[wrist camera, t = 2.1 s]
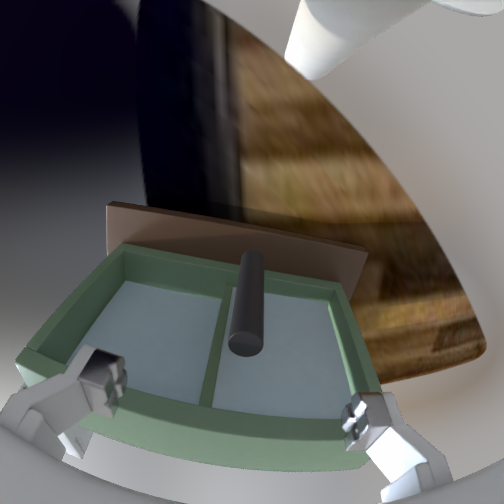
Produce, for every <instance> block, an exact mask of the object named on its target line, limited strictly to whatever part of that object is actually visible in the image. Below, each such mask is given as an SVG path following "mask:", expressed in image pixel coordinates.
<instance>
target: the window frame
mask: <svg viewBox="0 0 504 504" xmlns="http://www.w3.org/2000/svg"><path fill="white" fill-rule="evenodd" d="M106 227H107V228H106V229H107V257H106V258H105V259H104V260H103V261H102V262H101V263H100V264H99V265H98V266H97V267H96V268H95V269H94V270H93V271H92V272H91V274H89V275H88V276H87V277H86V278H85V280H83V282H81V284H80V285H79V286H78V287H77V288H76V289H75V290H74V291H73V292H72V293H71V294H70V295H69V296H68V297H67V298H66V300H65V301H64V302H63V303H62V304H61V305H60V306H59V307H58V308H57V309H56V311H55V312H54V313H53V314H52V315H51V316H50V317H49V319H48V320H47V321H46V322H45V323H44V324H43V325H42V327H41V328H40V329H39V330H38V331H37V333H36V334H35V335H34V336H33V337H32V339H31V340H30V341H29V342H28V344H27V345H26V347H25V348H24V349H23V350H22V352H21V353H20V354H19V356H18V357H17V358H16V359H15V364H16V365H17V368H18V369H19V371H20V373H21V375H22V377H23V379H24V381H25V383H26V385H27V386H28V387H31V386H33V385H35V384H37V383H39V382H42V381H44V380H46V379H48V378H51V377H53V376H55V375H57V374H59V373H62V374H64V373H65V371H66V370H67V368H68V367H69V365H70V364H71V362H72V361H73V359H74V358H75V356H76V355H77V353H78V352H79V350H80V349H81V347H82V346H84V345H85V344H88V345H90V346H93V347H96V348H99V349H102V350H105V351H107V352H110V353H113V354H116V355H119V356H122V357H124V359H125V366H124V369H125V370H126V371H127V376H128V382H127V386H126V390H125V393H124V395H123V396H121V397H120V398H118V402H119V407H118V409H117V411H116V413H115V416H114V418H110V417H107V416H104V415H101V414H98V413H95V412H92V413H91V414H90V415H88V416H87V417H85V418H84V419H82V420H81V421H80V422H78V423H77V424H76V425H78V426H80V427H83V428H85V429H87V430H90V431H92V432H95V433H97V434H100V435H103V436H105V437H108V438H111V439H113V440H116V441H119V442H122V443H125V444H128V445H131V446H134V447H138V448H141V449H145V450H148V451H152V452H155V453H159V454H163V455H167V456H171V457H175V458H180V459H184V460H190V461H194V462H199V463H205V464H211V465H217V466H218V465H219V466H224V467H233V468H241V469H250V470H264V471H282V472H320V471H341V470H353V469H359V468H360V467H362V466H363V465H364V464H365V463H366V462H368V461H369V460H370V459H371V458H370V456H369V455H368V454H367V453H366V451H346V448H345V443H344V436H345V434H346V432H345V431H344V430H343V429H342V427H341V419H311V418H293V417H279V416H268V415H259V414H251V413H243V412H236V411H229V410H223V409H217V408H211V407H206V406H201V405H199V400H200V396H201V391H202V386H203V382H204V377H205V372H206V368H207V363H208V359H209V354H210V350H211V345H212V341H213V336H214V332H215V327H216V323H217V318H218V314H219V309H220V305H221V301H222V296H223V292H224V288H225V285H230V286H233V287H235V288H237V282H238V276H239V270H240V264H241V258H242V255H243V254H244V253H245V252H246V251H248V250H257V251H259V252H261V253H262V254H263V256H264V293H270V294H276V295H282V296H288V297H294V298H300V299H307V300H313V301H320V302H326V304H327V307H328V311H329V314H330V317H331V321H332V324H333V328H334V331H335V335H336V338H337V342H338V345H339V349H340V352H341V356H342V360H343V363H344V367H345V371H346V375H347V379H348V382H349V386H350V390H351V394H352V395H353V394H354V393H356V392H382V389H381V386H380V383H379V380H378V377H377V375H376V372H375V369H374V366H373V363H372V361H371V358H370V355H369V353H368V350H367V347H366V345H365V342H364V339H363V337H362V334H361V332H360V329H359V327H358V324H357V322H356V319H355V317H354V314H353V312H352V309H351V307H350V304H349V303H350V301H351V298H352V296H353V293H354V291H355V288H356V286H357V283H358V281H359V278H360V275H361V273H362V270H363V268H364V265H365V262H366V259H367V257H368V254H369V252H368V251H367V250H366V248H365V247H363V246H358V245H353V244H349V243H344V242H339V241H334V240H330V239H325V238H320V237H315V236H310V235H305V234H300V233H295V232H290V231H284V230H279V229H274V228H269V227H264V226H258V225H253V224H248V223H242V222H237V221H231V220H225V219H220V218H214V217H209V216H203V215H197V214H191V213H185V212H179V211H173V210H167V209H161V208H155V207H148V206H142V205H136V204H129V203H123V202H115V201H112V202H111V203H109V204H107V205H106Z"/></svg>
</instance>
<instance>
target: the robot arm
mask: <svg viewBox="0 0 504 504" xmlns="http://www.w3.org/2000/svg"><path fill="white" fill-rule="evenodd" d="M124 366H125V359H124V357H122V356H119V355H116V354H113V353H110V352H107V351H105V350H102V349H99V348H96V347H93V346H90V345H88V344H85V345H84V346H82V347H81V349H80V350H79V352H78V353H77V355H76V356H75V358H74V359H73V361H72V362H71V364H70V365H69V367H68V368H67V370H66V371H65V373H64V374H62V373H59V374H57V375H55V376H53V377H51V378H48V379H46V380H44V381H42V382H39V383H37V384H35V385H33V386H31V387H28V388H26V389H24V390H22V391H19V392H17V393H15V394H13V395H12V396H11V397H10V398H9V400H8V402H7V403H6V404H5V406H4V407H3V409H2V411H1V412H0V504H185V503H180V502H176V501H171V500H167V499H163V498H159V497H155V496H152V495H148V494H144V493H141V492H138V491H134V490H131V489H128V488H125V487H122V486H119V485H116V484H114V483H111V482H108V481H106V480H103V479H100V478H98V477H95V476H93V475H91V474H88V473H86V472H84V471H81V470H79V469H77V468H75V467H73V466H71V465H69V464H67V463H64V462H62V458H63V456H64V454H65V451H66V448H65V446H64V445H63V443H62V442H61V441H60V439H59V438H58V437H57V436H59V435H60V434H62V433H63V432H65V431H66V430H68V429H69V428H71V427H72V426H74V425H75V424H77V423H78V422H80V421H81V420H82V419H84V418H85V417H87V416H88V415H90V414H91V413H92V412H95V413H98V414H101V415H104V416H107V417H110V418H114V416H115V413H116V411H117V409H118V407H119V402H118V398H120V397H121V396H123V395H124V393H125V390H126V386H127V382H128V376H127V371H126V370H125V369H124ZM341 427H342V429H343V430H344V431H345V432H346V434H345V436H344V443H345V448H346V451H366V453H367V454H368V455H369V456H370V458H371V459H372V460H373V461H374V462H375V464H376V465H377V466H378V467H379V469H380V470H381V471H382V472H383V473H384V475H385V476H386V477H387V478H388V479H389V481H390V482H391V484H389V485H387V486H386V487H384V488H383V489H382V490H381V497H382V503H378V504H504V458H503V459H501V460H499V461H497V462H496V463H493V464H491V465H490V466H488V467H486V468H484V469H481V470H479V471H477V472H475V473H473V474H470V475H468V476H466V477H463V478H461V479H458V480H456V481H453V478H452V475H451V472H450V469H449V466H448V463H447V460H446V458H445V456H444V455H443V454H442V453H441V452H440V451H438V450H437V449H436V448H435V447H434V446H433V445H431V444H430V443H429V442H428V441H427V440H426V439H424V438H423V437H422V436H421V435H420V434H418V433H417V432H416V431H415V430H414V429H413V428H412V427H411V426H409V425H408V424H405V423H404V420H403V418H402V415H401V412H400V410H399V407H398V404H397V402H396V399H395V396H394V394H393V393H392V392H356V393H354V394H353V395H352V397H351V403H349V404H347V405H346V406H345V407H344V409H343V410H342V414H341Z"/></svg>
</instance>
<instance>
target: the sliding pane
mask: <svg viewBox="0 0 504 504" xmlns="http://www.w3.org/2000/svg"><path fill="white" fill-rule="evenodd" d="M351 397H352V394H351V390H350V386H349V382H348V379H347V375H346V371H345V367H344V363H343V360H342V356H341V352H340V349H339V345H338V342H337V338H336V335H335V331H334V328H333V324H332V321H331V317H330V314H329V311H328V307H327V304H326V302H320V301H313V300H307V299H300V298H294V297H288V296H282V295H276V294H270V293H264V256H263V254H262V253H261V252H259V251H257V250H248V251H246V252H245V253H244V254H243V255H242V258H241V264H240V270H239V276H238V282H237V288H235V287H233V286H230V285H225V288H224V292H223V296H222V301H221V305H220V309H219V314H218V318H217V323H216V327H215V332H214V336H213V341H212V345H211V350H210V354H209V359H208V363H207V368H206V372H205V377H204V382H203V386H202V391H201V396H200V400H199V405H201V406H206V407H211V408H217V409H223V410H229V411H236V412H243V413H251V414H259V415H268V416H279V417H293V418H311V419H341V414H342V410H343V409H344V407H345V406H346V405H347V404H349V403H351Z"/></svg>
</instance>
